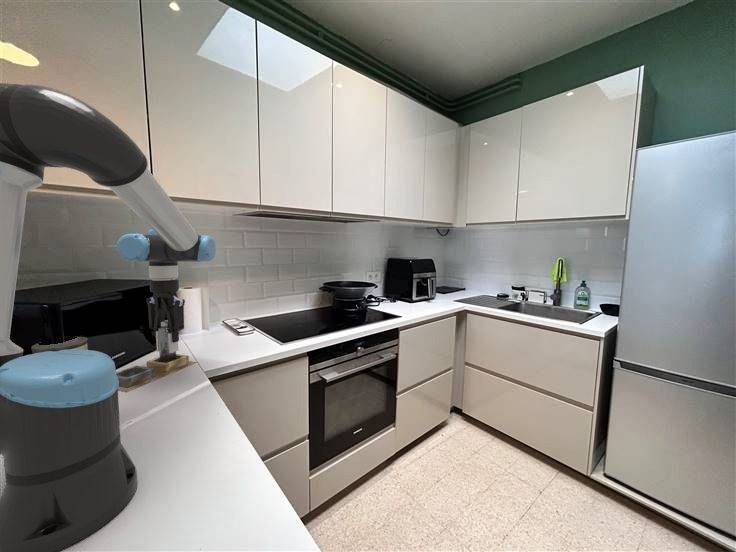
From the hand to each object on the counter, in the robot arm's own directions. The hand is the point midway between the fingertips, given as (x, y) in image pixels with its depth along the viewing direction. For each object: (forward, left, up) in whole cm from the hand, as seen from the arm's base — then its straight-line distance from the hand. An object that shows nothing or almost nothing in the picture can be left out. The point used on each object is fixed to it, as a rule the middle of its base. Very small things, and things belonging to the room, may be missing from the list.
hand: (167, 350), depth 93 cm
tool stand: (-5, 0, -7) cm, 9 cm away
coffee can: (-19, +13, -7) cm, 24 cm away
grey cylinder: (0, 0, -4) cm, 4 cm away
